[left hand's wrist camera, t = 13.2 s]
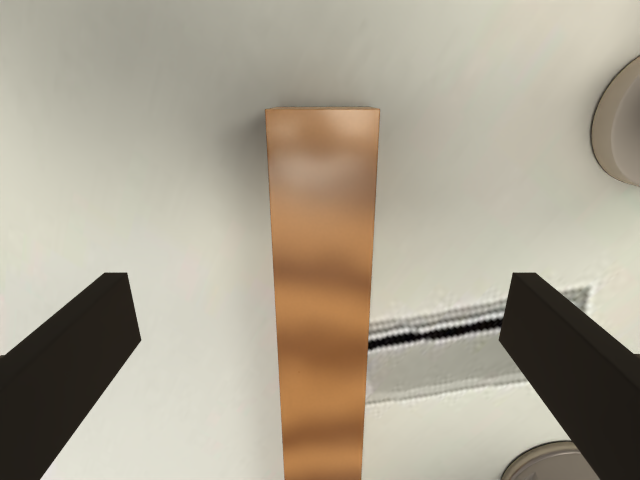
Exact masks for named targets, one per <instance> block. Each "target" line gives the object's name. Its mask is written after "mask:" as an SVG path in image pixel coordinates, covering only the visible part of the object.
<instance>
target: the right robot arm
mask: <svg viewBox="0 0 640 480" xmlns="http://www.w3.org/2000/svg"><path fill="white" fill-rule="evenodd" d="M501 480H600V479H599V477H598V476H597V475H596V473H595V472H594V471H593V469H592V468H591V466H590V465H589V464H588V462H587V461H586V460H585V458H584V457H583V455H582V454H581V453H580V451H579V450H578V449H577V447H576V446H575V444H574V443H573V442H557V443H551V444H547V445H543V446H540V447H537V448H535V449H532V450H530V451H528V452H527V453H525V454H523V455H522V456H520V457H519V458H517V459H516V460H515V461H514V462H513V463H512V464H511V465H510V466H509V467H508V468H507V470H506V471H505V473H504V475H503V477H502V479H501Z"/></svg>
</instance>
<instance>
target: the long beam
mask: <svg viewBox="0 0 640 480" xmlns="http://www.w3.org/2000/svg"><path fill="white" fill-rule="evenodd" d="M265 118H266V137H267V156H268V175H269V194H270V213H271V232H272V251H273V269H274V288H275V307H276V326H277V345H278V364H279V383H280V402H281V421H282V440H283V459H284V477H285V480H361V470H362V450H363V431H364V411H365V392H366V372H367V353H368V333H369V314H370V294H371V275H372V255H373V236H374V216H375V197H376V177H377V158H378V138H379V119H380V109H378V108H372V107H274V108H269V109H265Z"/></svg>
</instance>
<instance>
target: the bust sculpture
mask: <svg viewBox="0 0 640 480" xmlns="http://www.w3.org/2000/svg"><path fill="white" fill-rule="evenodd" d="M592 145H593V150H594V153H595V156H596V158H597V160H598V162H599V164H600V165H601V166H602V168H603V169H604V170H605V171H606V172H607V173H608V174H609V175H611V176H612V177H614V178H615V179H617V180H619V181H622V182H625V183H629V184H632V185H636V186H639V187H640V57H638V58H637V59H635V60H634V61H633V62H631V63H630V64H629V65H628V66H627V67H625V68H624V69H623V70H622V71H621V72H620V73H619V74H618V75H617V76H616V78H615V79H614V80H613V81H612V83H611V84H610V85H609V87H608V88H607V90H606V91H605V93H604V95H603V96H602V98H601V100H600V102H599V105H598V107H597V110H596V113H595V116H594V120H593V126H592Z"/></svg>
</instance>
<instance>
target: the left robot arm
mask: <svg viewBox="0 0 640 480" xmlns="http://www.w3.org/2000/svg"><path fill="white" fill-rule="evenodd" d="M140 341H141V336H140V332H139V327H138V322H137V317H136V313H135V308H134V303H133V298H132V294H131V289H130V284H129V279H128V275H127V273H104V274H102V275H101V276H100V277H99V278H98V279H96V280H95V281H94V282H93V283H92V284H90V285H89V286H88V287H87V288H85V289H84V290H83V291H82V292H81V293H79V294H78V295H77V296H76V297H75V298H73V299H72V300H71V301H70V302H69V303H67V304H66V305H65V306H64V307H63V308H61V309H60V310H59V311H58V312H56V313H55V314H54V315H53V316H52V317H50V318H49V319H48V320H47V321H46V322H44V323H43V324H42V325H41V326H40V327H38V328H37V329H36V330H35V331H34V332H32V333H31V334H30V335H29V336H27V337H26V338H25V339H24V340H23V341H21V342H20V343H19V344H18V345H17V346H15V347H14V348H13V349H12V350H11V351H9V352H8V353H7V354H6V355H1V356H0V480H40V479H41V477H42V476H43V475H44V473H45V472H46V471H47V469H48V468H49V466H50V465H51V464H52V462H53V461H54V460H55V458H56V457H57V455H58V454H59V453H60V451H61V450H62V449H63V447H64V446H65V444H66V443H67V442H68V440H69V439H70V438H71V436H72V435H73V433H74V432H75V431H76V429H77V428H78V427H79V425H80V424H81V422H82V421H83V420H84V418H85V417H86V416H87V414H88V413H89V411H90V410H91V409H92V407H93V406H94V405H95V403H96V402H97V400H98V399H99V398H100V396H101V395H102V394H103V392H104V391H105V389H106V388H107V387H108V385H109V384H110V383H111V381H112V380H113V378H114V377H115V376H116V374H117V373H118V372H119V370H120V369H121V367H122V366H123V365H124V363H125V362H126V361H127V359H128V358H129V356H130V355H131V354H132V352H133V351H134V350H135V348H136V347H137V345H138V344H139V343H140ZM499 341H500V343H501V344H502V345H503V347H504V348H505V350H506V351H507V352H508V354H509V355H510V356H511V358H512V359H513V361H514V362H515V363H516V365H517V366H518V367H519V369H520V370H521V372H522V373H523V374H524V376H525V377H526V378H527V380H528V381H529V383H530V384H531V385H532V387H533V388H534V389H535V391H536V392H537V394H538V395H539V396H540V398H541V399H542V400H543V402H544V403H545V405H546V406H547V407H548V409H549V410H550V411H551V413H552V414H553V416H554V417H555V418H556V420H557V421H558V422H559V424H560V425H561V427H562V428H563V429H564V431H565V432H566V433H567V435H568V436H569V438H570V439H571V440H572V442H573V443H574V444H575V446H576V447H577V449H578V450H579V451H580V453H581V454H582V455H583V457H584V458H585V460H586V461H587V462H588V464H589V465H590V466H591V468H592V469H593V471H594V472H595V473H596V475H597V476H598V477H599V479H600V480H640V354H633V353H632V352H631V351H629V350H628V349H627V348H626V347H625V346H623V345H622V344H621V343H620V342H619V341H617V340H616V339H615V338H614V337H613V336H611V335H610V334H609V333H608V332H606V331H605V330H604V329H603V328H602V327H600V326H599V325H598V324H597V323H596V322H594V321H593V320H592V319H591V318H590V317H588V316H587V315H586V314H585V313H584V312H582V311H581V310H580V309H579V308H577V307H576V306H575V305H574V304H573V303H571V302H570V301H569V300H568V299H567V298H565V297H564V296H563V295H562V294H561V293H559V292H558V291H557V290H556V289H555V288H553V287H552V286H551V285H550V284H548V283H547V282H546V281H545V280H544V279H542V278H541V277H540V276H539V275H538V274H536V273H513V275H512V279H511V284H510V289H509V294H508V298H507V303H506V308H505V313H504V317H503V322H502V327H501V332H500V336H499Z"/></svg>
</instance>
